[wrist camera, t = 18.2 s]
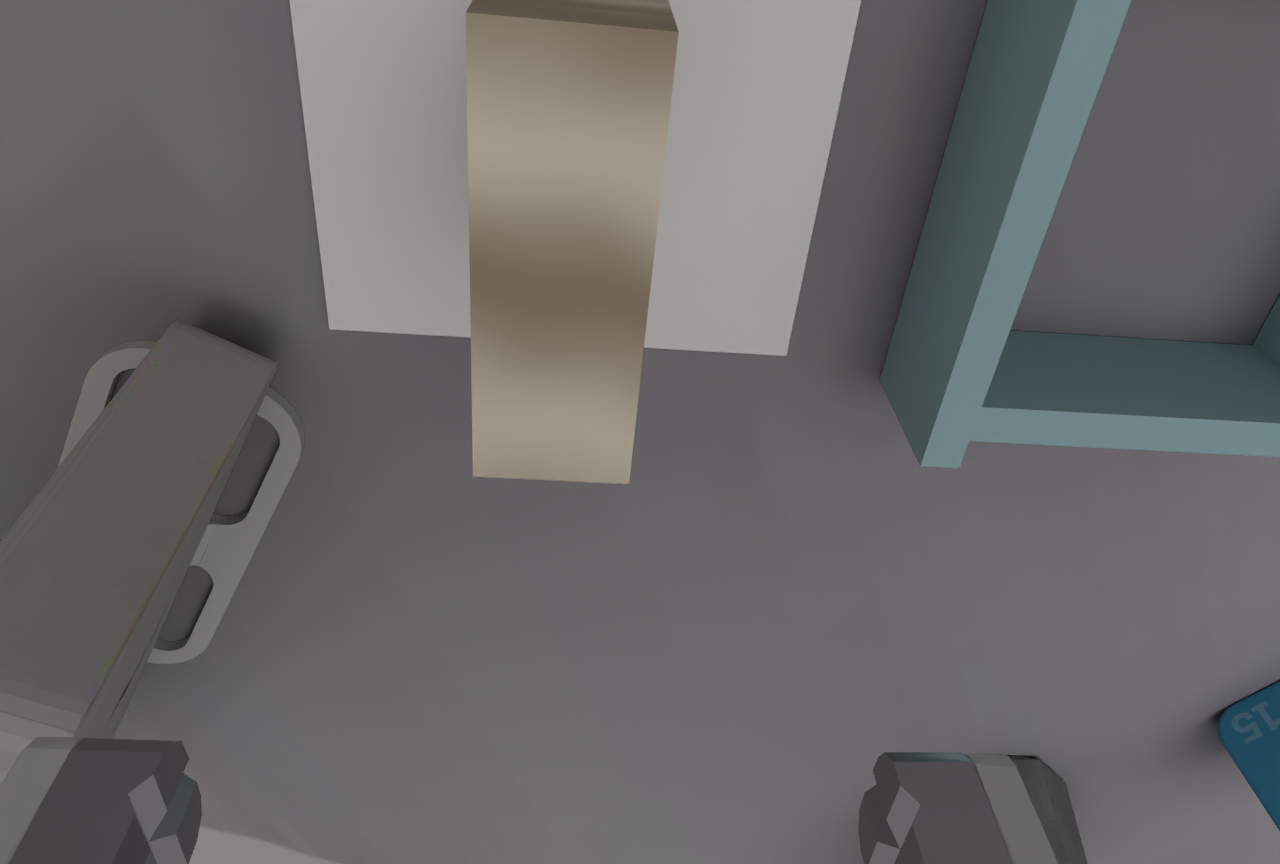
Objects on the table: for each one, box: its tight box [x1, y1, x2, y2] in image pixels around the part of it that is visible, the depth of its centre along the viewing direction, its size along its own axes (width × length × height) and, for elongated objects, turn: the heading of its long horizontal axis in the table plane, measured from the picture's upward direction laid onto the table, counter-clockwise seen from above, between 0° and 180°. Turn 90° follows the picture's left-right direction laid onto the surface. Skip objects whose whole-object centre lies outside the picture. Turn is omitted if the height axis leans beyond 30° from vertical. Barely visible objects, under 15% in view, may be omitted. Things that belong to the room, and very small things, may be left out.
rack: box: [880, 0, 1280, 468], centre depth 30 cm, size 24×17×6 cm
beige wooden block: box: [466, 0, 679, 484], centre depth 26 cm, size 11×4×13 cm, turn 175°
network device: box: [0, 319, 305, 786], centre depth 34 cm, size 26×9×20 cm, turn 149°
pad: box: [289, 0, 861, 356], centre depth 31 cm, size 18×18×1 cm
